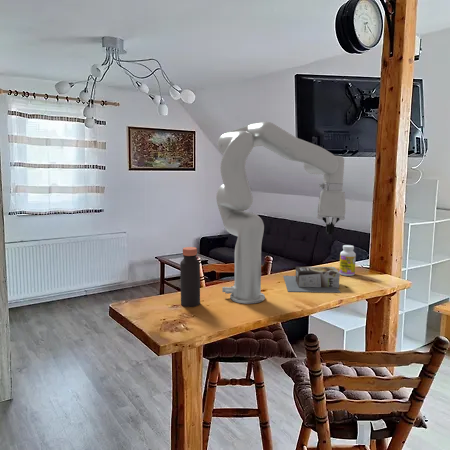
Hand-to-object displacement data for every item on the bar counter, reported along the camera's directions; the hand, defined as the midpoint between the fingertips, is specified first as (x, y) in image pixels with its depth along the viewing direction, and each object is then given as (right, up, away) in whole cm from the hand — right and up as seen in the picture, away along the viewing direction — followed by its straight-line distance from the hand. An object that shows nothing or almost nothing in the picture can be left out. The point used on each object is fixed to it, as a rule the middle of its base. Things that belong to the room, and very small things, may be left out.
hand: (329, 233), depth 168 cm
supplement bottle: (+12, -19, +20) cm, 30 cm away
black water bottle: (-54, -24, -19) cm, 62 cm away
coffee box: (+4, -17, +3) cm, 18 cm away
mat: (-7, -21, +5) cm, 22 cm away
